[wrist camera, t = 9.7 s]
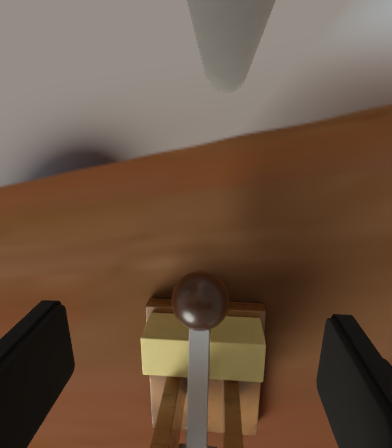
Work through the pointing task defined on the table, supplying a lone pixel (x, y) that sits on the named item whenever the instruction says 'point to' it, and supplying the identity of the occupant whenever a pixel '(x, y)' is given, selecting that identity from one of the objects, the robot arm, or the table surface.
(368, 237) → the table surface
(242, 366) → the butter
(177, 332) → the butter
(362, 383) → the robot arm
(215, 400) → the wooden toy catapult
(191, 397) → the ball knob on post
